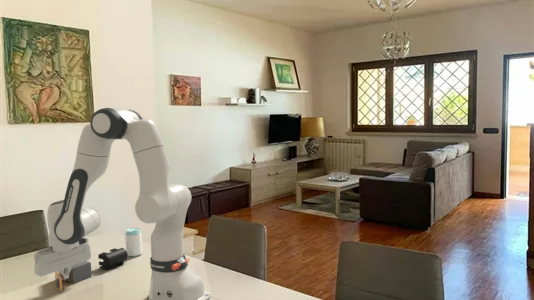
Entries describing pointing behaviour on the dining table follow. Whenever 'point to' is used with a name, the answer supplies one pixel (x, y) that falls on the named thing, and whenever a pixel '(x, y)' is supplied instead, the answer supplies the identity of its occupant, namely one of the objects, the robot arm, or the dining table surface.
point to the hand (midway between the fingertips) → (65, 278)
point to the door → (58, 280)
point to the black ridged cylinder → (112, 258)
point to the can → (133, 242)
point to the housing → (79, 272)
